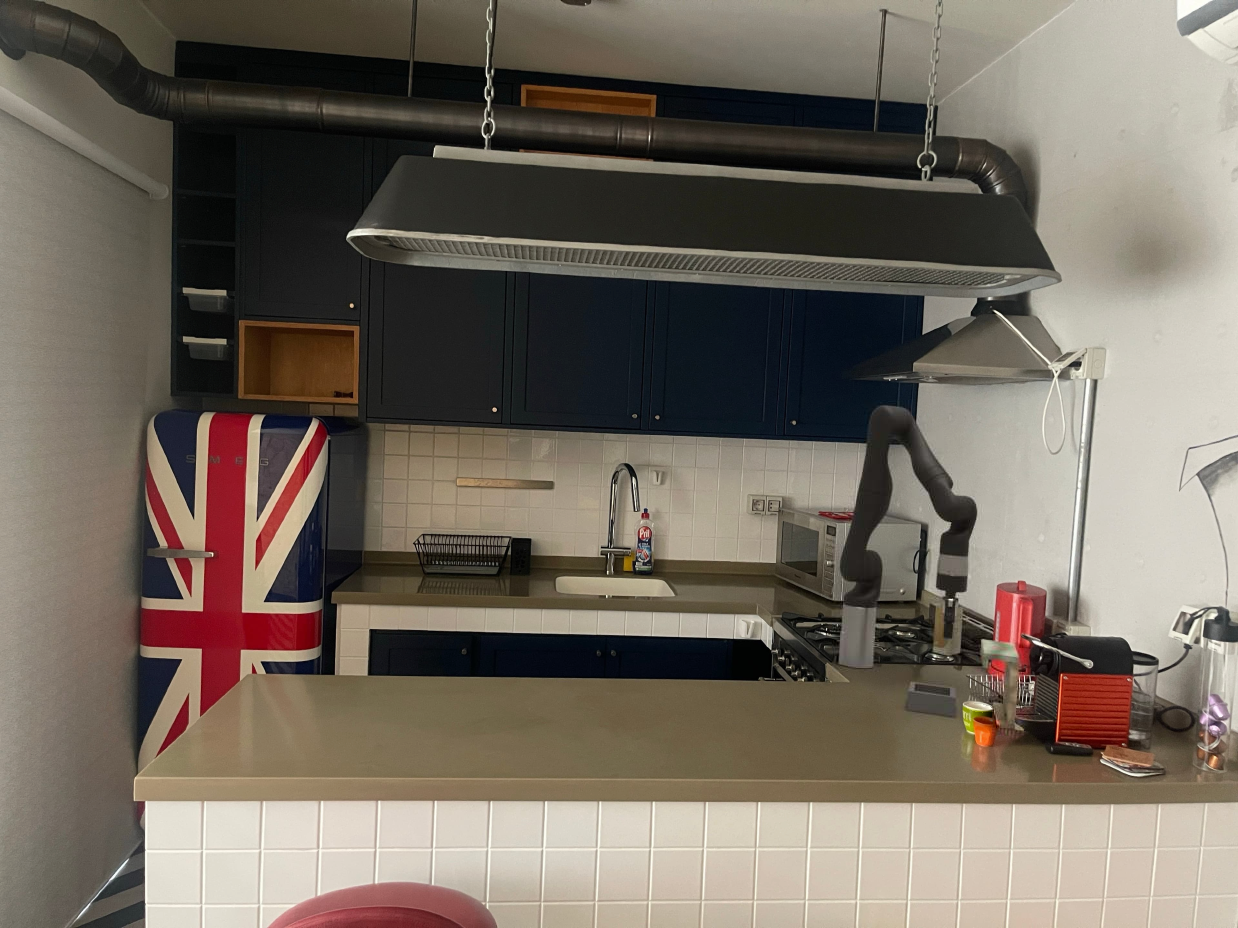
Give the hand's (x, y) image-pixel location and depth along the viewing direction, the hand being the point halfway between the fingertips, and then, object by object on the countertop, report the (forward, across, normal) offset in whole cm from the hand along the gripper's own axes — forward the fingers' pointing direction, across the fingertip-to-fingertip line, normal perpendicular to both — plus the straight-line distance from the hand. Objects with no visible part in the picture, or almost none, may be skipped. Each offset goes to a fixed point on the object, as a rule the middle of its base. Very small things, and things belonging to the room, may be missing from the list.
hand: (947, 635), depth 224 cm
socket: (+15, +19, -3) cm, 24 cm away
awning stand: (+14, +18, +13) cm, 26 cm away
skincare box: (+5, 0, 0) cm, 5 cm away
